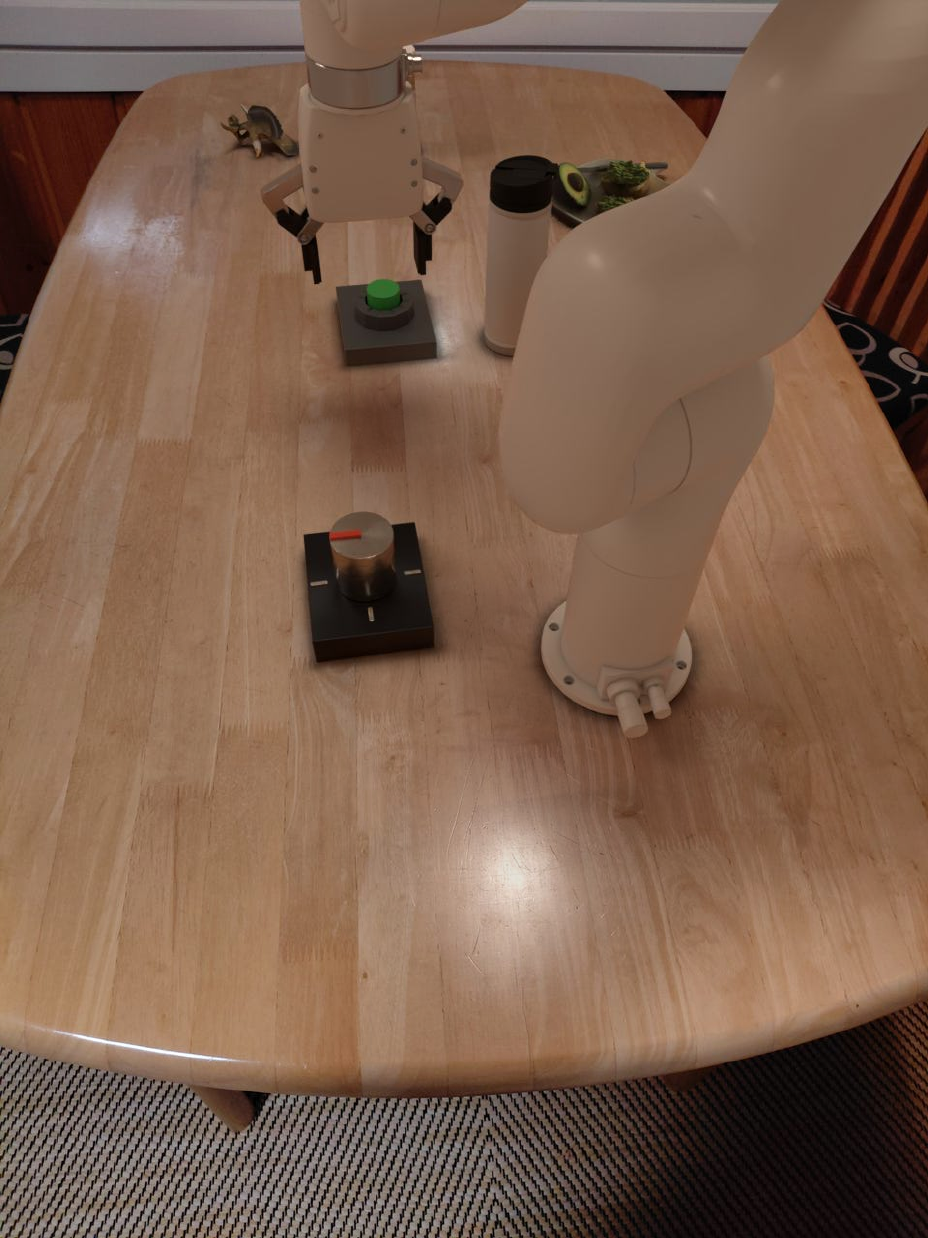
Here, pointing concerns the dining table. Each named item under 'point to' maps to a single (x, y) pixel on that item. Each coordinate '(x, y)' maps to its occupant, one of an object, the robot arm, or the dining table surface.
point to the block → (385, 326)
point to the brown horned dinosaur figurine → (261, 129)
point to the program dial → (363, 556)
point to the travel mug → (515, 243)
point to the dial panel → (368, 604)
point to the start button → (383, 294)
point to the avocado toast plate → (602, 187)
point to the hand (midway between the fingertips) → (368, 271)
